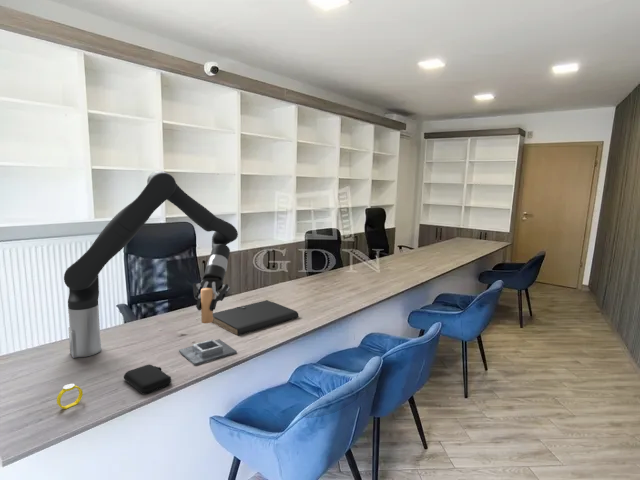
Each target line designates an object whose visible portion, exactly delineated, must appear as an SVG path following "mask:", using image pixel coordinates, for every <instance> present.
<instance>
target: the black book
mask: <svg viewBox="0 0 640 480" xmlns="http://www.w3.org/2000/svg"><path fill="white" fill-rule="evenodd" d="M298 318H299V313H298V311H296V310H294V309H291V308H290V307H287V306H284V305H281V304H279V303H276V302H275V301H271V300H269V299H266V300H261V301H258V302H254V303H250V304H246V305H241V306H236V307H233V308H228V309H225V310H220V311H217V312H213V322H211V323H212V324H214V325H216V326H218V327H219V328H222V329H224V330H226V331H228V332H231V333H232V334H234V335H235V336H238V337H239V336H242V335H245V334H250V333H252V332H255V331H258V330H261V329H265V328H268V327H271V326H275V325H279V324H282V323H284V322H287V321H291V320H295V319H298Z"/></svg>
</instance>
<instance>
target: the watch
mask: <svg viewBox="0 0 640 480" xmlns="http://www.w3.org/2000/svg"><path fill="white" fill-rule="evenodd" d="M74 389H77V390H78V396H77V398H76V400H75V401H74V402H71V403H68V404H67V405H62V404H61V399H62V397H63V395H64V394H65V393H66V392H69V391H70V392H71V391H72V390H74ZM83 394H84V393H83V389H82V388H81V387H80V386H78V385H76V384H75V383H68V384H65V385H63V386H62V389H61V390H60V391H59V393H58V395H57V397H56V404H57V405H58V407H59V408H61V409H62V410H63V409H64V410H67V409H70V408H72V407H74V406H76V405H77V406H78V404H79V403H80V401H81V400H82V398H83Z"/></svg>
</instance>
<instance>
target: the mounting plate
mask: <svg viewBox="0 0 640 480" xmlns="http://www.w3.org/2000/svg"><path fill="white" fill-rule="evenodd" d="M178 353H179V354H180V355H182V356H183V357H184V358H185V359H186V360H188V361H189V362H190V363H191V364H192V365H193V366H198V365H202V364H204V363H207V362H209V363H210V362H212V361H215V360H218V359H222V358H225V357H228V356H232V355H235V354H237V353H238V350H236V349H235V348H233V347H231V346H230V345H228V344H227V343H226V342H224V341H223V340H221V339H220V338H219V339H214V338H212V339H207V340H205V341H201V342H197V343H193V344H192V346H188V347H184V348H181V349H178Z"/></svg>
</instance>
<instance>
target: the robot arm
mask: <svg viewBox="0 0 640 480" xmlns="http://www.w3.org/2000/svg"><path fill="white" fill-rule="evenodd" d="M146 181H147V184H146V186H144V188H143V190H142V191H141V192H140V194H139V195H138V196H137V197H136V198H135V199H134V200H132V201H131V202H130V203H129V204H128V205H126V206H125V207H123V209H121V210H120V211H119V212H118V213H117V214H115V216H113V217H112V219H111V220H110V221H108V223H107V224H106V226H105V227H103V230H101V232H100V233H99V235H98V236H97V237H96V238H95V240H94V241H93V242H92V244H91V246H90V247H89V248H88V250H86V252H84V254H82V255H81V256H80V258H79V259H77V260H76V261H75V262H73V263H72V264H71V265H70V266H69V267H68V268H67V269H66V270H65V272H64V274H63V281H64V283H65V286H67V288H68V290H69V292H68V299H67V309H68V310H67V311H68V313H67V314H68V326H69V327H68V341H69V352H70V353H69V354H70V355H71V357H72V359H74V358H85V357H90V356H93V355H96V354H98V353H100V352H101V350H102V344H101V343H102V341H101V325H100V324H101V323H100V310H99V309H100V308H99V305H100V304H99V298H100V297H99V295H100V286H99V285H100V284H99V280H100V279H99V274H100V273H101V271H102V270H103V269H104V267H105V266H106V265H107V264H108V262H109V261H111V260H112V258H113V257H115V256H116V255H117V254H119V252H121V251H122V250H123V249H124V248H125V247H126V246H127V245H128V243H130V241H132V239H134V237H135V236H136V235H137V234H138V233H139V231H140V230H141V229H142V228H143V226H144V225H145V224H146V223H147V221H148V220H149V219H150V218H151V216H152V215H153V213H154V212H155V211H156V210H157V209H158V208H159V207H160V206H161V205H162V204H163V203H164V202H166V201H168V202H170V203H171V204H173V205H174V206H175V207H177V208H178V209H179V210H180V211H181V212H182V213H183V214H185V215H186V217H188V218H189V219H190V220H191V221H193V223H195V224H196V225H197V226H199V227H200V228H201V229H203V230H204V231H205V232H207V233H208V232H214V233H213V234H212V237H211V252H210V255H209V258H208V260H207V263H206V267H205V270H204V274H203V277H202V280H201V281H200V283H199V282H198V283H196V282H194V283H192V290H193V291H192V293H193V297H194V299H195V300H197V301H196V305H195V308H196V309H197V311H201V292H200V293H199V290H201V289H203V288H212V294H213V299H212V301H211V305H210V311H213V312H214V310H216V307H217V304H218V302H220V301H221V302H222V301H224V299H225V297H226V296H227V294H228V292H229V291H230V289H231V288H230V286H229V284H224V280H225V276H226V273H227V270H228V261H229V257H230V253H231V249H230V247H229V246H228V245H229V244H230V243H232V242H234V241H236V240H237V239H238V235H239V234H238V233H239V232H238V230H237V229H236V227H235V226H234V225H233V224H232V223H229V222H228V221H226V220H224V219H222V218H220V217H217V216H216V215H215V214H214V213H212V212H211V211H210V210H209V209H207V208H206V207H205V206H204V205H202V204H201V203H200V202H198V201H197V200H196V199H194V198H193V197H191V196H190V195H189V194H187V193H186V192H185V191H184V190H183V189H182V188H181V187H180V186H179V185H178V184H177V181H176V180H175V178H174V177H173V176H172V175H171V174H170V173H168V172H167V171H165V170H164V171H163V170H156V171H153V172H152V173H150V174H149V176H148V177H147V180H146ZM200 288H201V289H200ZM221 289H222V290H221ZM220 290H221V291H220ZM219 291H220V293H219Z"/></svg>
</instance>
